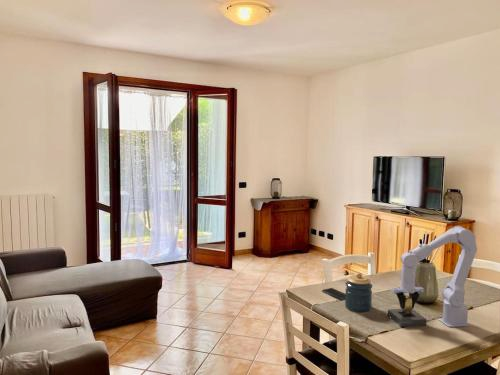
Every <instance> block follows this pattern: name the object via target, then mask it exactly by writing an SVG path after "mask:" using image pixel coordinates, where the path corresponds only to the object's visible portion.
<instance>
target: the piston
mask: <svg viewBox="0 0 500 375" xmlns="http://www.w3.org/2000/svg"><path fill="white" fill-rule="evenodd" d="M405 296H406V298H405V304H404V309H402V308H401V309H402V312H403V313H406V314H411V313H412V300H413V298H412V297H411V296H409V295H405Z"/></svg>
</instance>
